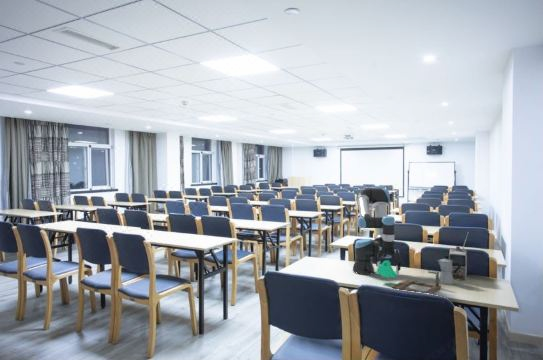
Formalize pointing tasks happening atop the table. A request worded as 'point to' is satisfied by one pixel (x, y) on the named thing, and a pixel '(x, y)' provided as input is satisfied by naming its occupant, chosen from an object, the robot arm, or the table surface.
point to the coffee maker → (447, 270)
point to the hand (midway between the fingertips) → (388, 273)
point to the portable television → (461, 258)
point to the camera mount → (386, 269)
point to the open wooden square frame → (407, 282)
